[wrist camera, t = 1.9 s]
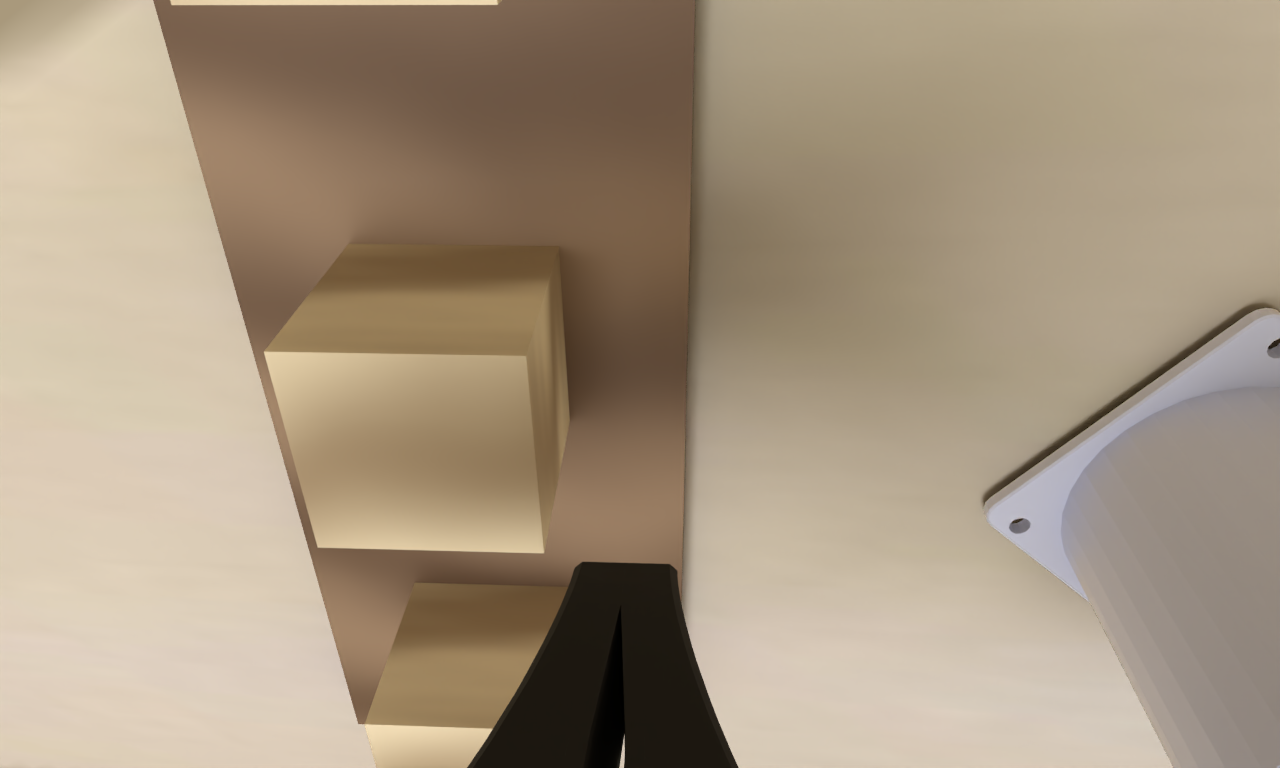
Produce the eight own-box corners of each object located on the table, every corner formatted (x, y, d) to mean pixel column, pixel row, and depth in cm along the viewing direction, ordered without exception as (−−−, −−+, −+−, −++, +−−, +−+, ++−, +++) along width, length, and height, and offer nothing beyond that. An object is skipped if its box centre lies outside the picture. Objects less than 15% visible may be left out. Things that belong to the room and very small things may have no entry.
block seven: (414, 582, 24) (360, 735, 20) (578, 586, 24) (556, 742, 20) (436, 690, 27) (391, 846, 23) (585, 695, 27) (567, 853, 23)
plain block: (348, 243, 19) (263, 351, 15) (558, 245, 19) (526, 356, 15) (383, 417, 21) (317, 547, 18) (569, 420, 21) (543, 553, 17)
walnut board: (48, -501, 14) (5, -521, 13) (706, -518, 13) (707, -540, 12) (367, 697, 29) (358, 723, 28) (678, 707, 28) (678, 734, 27)
